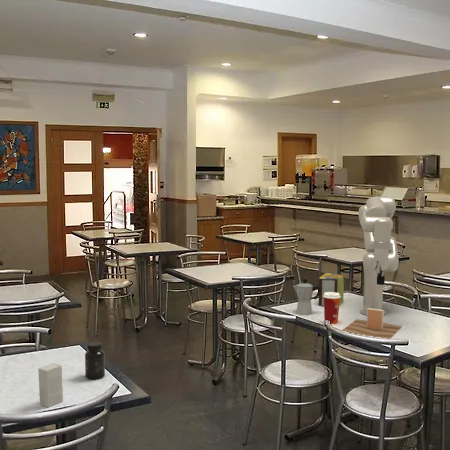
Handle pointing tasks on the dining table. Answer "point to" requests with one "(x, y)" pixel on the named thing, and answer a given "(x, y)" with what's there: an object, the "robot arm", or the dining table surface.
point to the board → (362, 329)
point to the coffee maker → (305, 296)
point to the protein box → (331, 286)
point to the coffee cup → (331, 306)
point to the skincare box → (50, 385)
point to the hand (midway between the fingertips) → (380, 284)
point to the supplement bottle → (94, 361)
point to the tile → (375, 318)
